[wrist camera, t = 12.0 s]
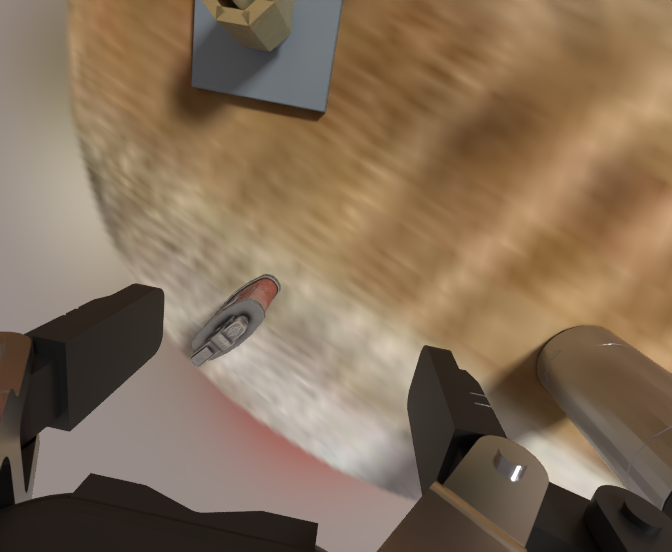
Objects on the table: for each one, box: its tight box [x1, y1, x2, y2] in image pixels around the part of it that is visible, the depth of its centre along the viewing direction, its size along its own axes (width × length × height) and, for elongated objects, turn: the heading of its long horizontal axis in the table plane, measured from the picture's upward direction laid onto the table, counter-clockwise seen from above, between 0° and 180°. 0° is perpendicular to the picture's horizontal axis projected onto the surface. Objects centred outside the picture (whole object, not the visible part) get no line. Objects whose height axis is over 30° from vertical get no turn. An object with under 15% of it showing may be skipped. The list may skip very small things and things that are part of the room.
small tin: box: [189, 274, 281, 367], centre depth 34 cm, size 8×3×10 cm, turn 129°
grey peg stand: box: [191, 0, 343, 113], centre depth 26 cm, size 12×12×10 cm
